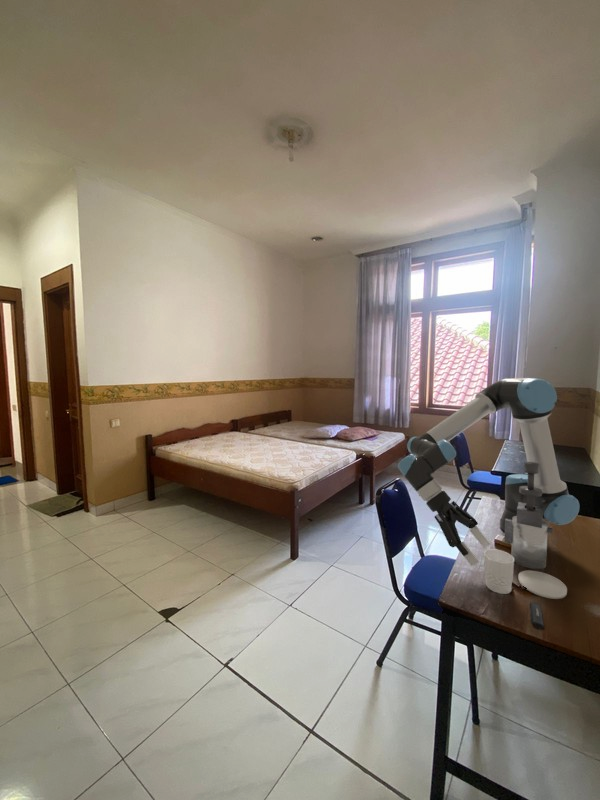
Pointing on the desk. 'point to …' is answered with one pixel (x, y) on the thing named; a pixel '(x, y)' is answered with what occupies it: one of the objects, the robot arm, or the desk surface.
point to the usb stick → (536, 615)
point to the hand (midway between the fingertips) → (481, 554)
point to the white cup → (498, 570)
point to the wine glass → (530, 484)
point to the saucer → (542, 584)
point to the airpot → (528, 536)
